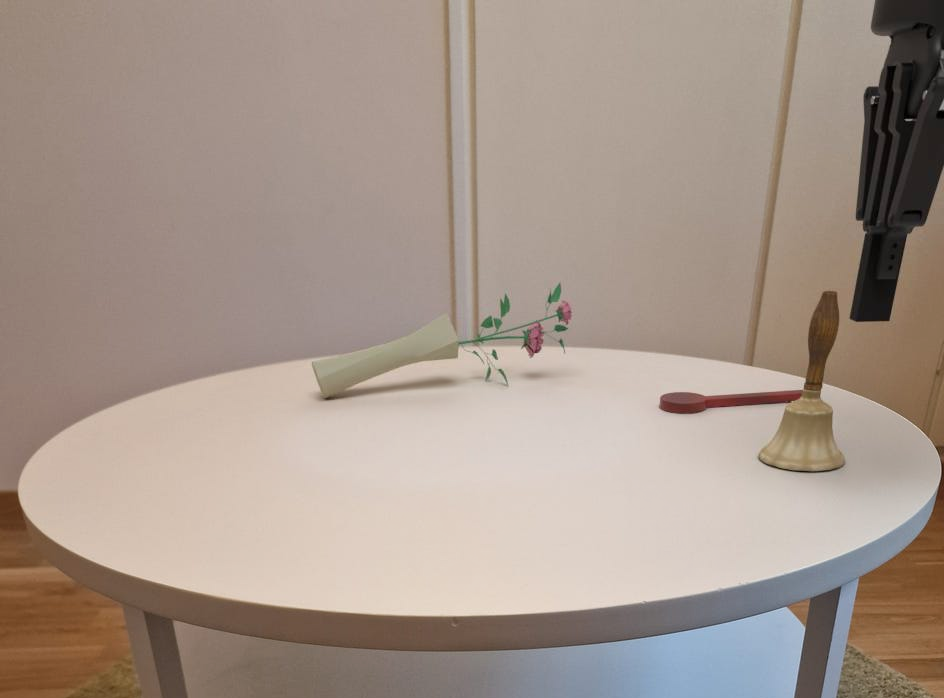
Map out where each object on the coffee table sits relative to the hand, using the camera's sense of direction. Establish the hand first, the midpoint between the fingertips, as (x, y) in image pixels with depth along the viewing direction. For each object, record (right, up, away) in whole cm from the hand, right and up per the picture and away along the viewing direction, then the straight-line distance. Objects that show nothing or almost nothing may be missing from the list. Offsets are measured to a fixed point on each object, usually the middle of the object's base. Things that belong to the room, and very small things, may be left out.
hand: (869, 319), depth 73 cm
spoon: (0, +3, +36) cm, 36 cm away
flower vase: (-36, +8, +48) cm, 60 cm away
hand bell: (+1, -8, +17) cm, 19 cm away
